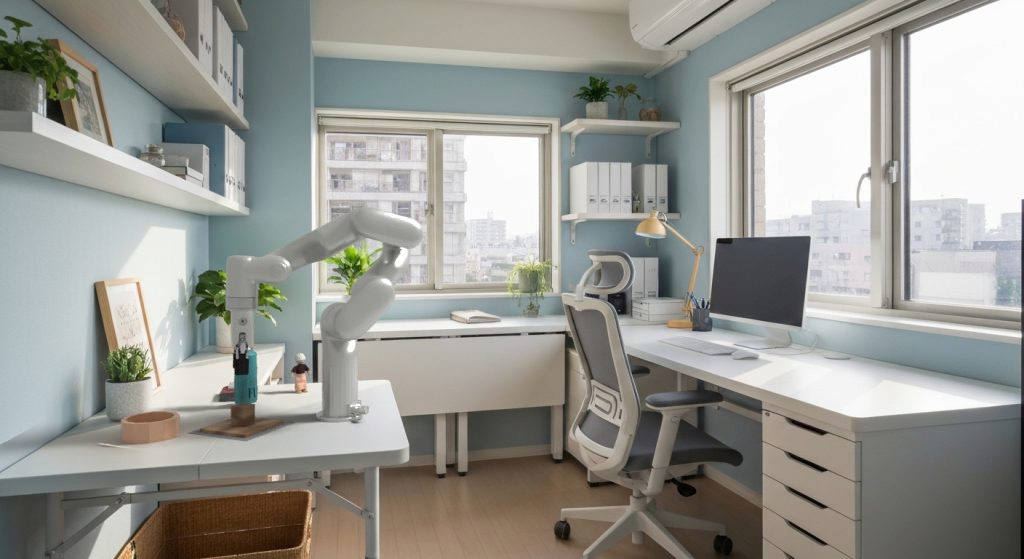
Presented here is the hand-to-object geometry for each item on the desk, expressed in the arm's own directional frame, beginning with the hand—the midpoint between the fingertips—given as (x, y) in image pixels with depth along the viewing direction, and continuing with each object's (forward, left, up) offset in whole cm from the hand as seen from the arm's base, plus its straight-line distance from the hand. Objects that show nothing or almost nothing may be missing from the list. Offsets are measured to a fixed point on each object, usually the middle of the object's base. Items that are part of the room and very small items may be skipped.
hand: (240, 371), depth 162 cm
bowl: (+15, +14, -15) cm, 25 cm away
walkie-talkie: (+29, -31, -16) cm, 45 cm away
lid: (0, 0, -15) cm, 15 cm away
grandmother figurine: (+14, -41, -15) cm, 46 cm away
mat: (0, 0, -15) cm, 15 cm away
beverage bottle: (+16, -19, -15) cm, 29 cm away
